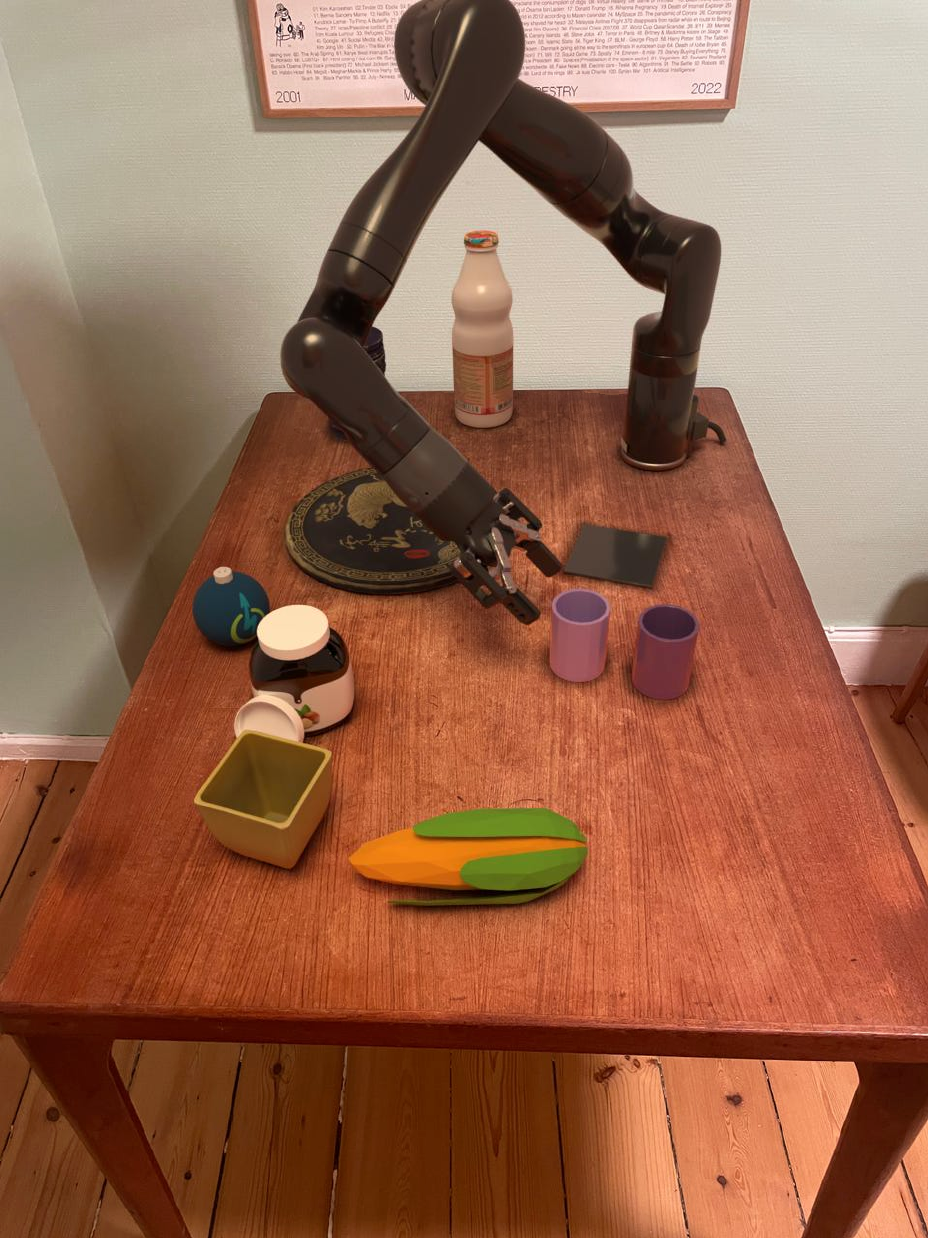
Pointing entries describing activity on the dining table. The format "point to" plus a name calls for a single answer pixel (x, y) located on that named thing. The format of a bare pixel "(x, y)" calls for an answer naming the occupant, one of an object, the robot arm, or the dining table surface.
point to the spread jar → (297, 676)
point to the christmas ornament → (230, 607)
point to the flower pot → (267, 797)
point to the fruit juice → (482, 336)
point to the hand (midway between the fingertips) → (545, 595)
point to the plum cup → (664, 651)
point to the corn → (478, 854)
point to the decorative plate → (366, 538)
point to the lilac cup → (579, 634)
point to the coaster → (616, 556)
